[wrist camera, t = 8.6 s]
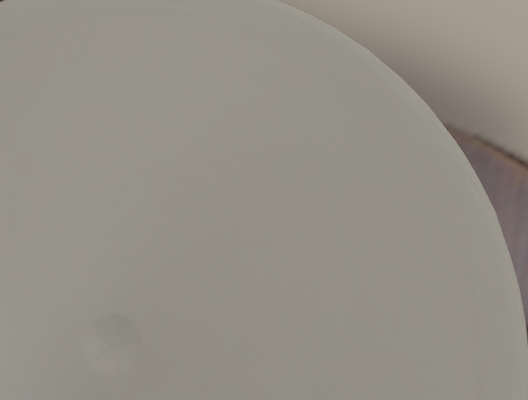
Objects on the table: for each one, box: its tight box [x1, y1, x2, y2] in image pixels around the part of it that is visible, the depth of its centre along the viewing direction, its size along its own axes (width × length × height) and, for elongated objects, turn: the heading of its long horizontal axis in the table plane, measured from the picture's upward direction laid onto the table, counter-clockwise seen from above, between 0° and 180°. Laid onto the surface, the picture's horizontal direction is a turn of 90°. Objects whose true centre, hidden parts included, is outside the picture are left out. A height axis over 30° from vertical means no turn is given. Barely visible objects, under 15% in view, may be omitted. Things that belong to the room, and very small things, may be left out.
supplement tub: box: [0, 0, 528, 400], centre depth 12 cm, size 10×10×15 cm
